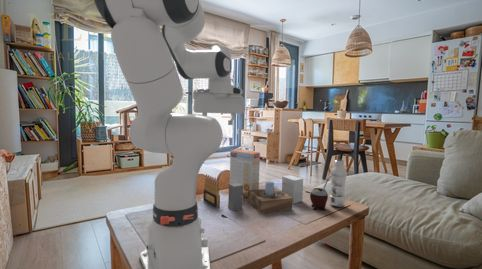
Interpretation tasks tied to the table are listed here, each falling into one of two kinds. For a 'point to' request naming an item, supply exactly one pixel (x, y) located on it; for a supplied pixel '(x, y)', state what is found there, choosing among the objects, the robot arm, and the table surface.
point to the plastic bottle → (338, 184)
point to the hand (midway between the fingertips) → (219, 124)
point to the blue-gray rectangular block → (269, 188)
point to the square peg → (235, 196)
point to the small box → (293, 187)
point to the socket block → (269, 201)
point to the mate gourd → (319, 197)
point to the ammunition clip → (211, 191)
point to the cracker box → (245, 169)
